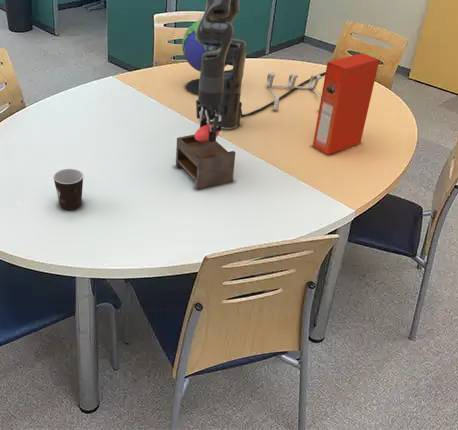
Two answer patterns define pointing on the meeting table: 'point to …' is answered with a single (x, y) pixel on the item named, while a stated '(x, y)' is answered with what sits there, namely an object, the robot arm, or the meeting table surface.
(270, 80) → the over door rack
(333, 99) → the file binder
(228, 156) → the rack
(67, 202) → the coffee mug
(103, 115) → the meeting table surface
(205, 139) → the red rounded oblong piece
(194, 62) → the globe
